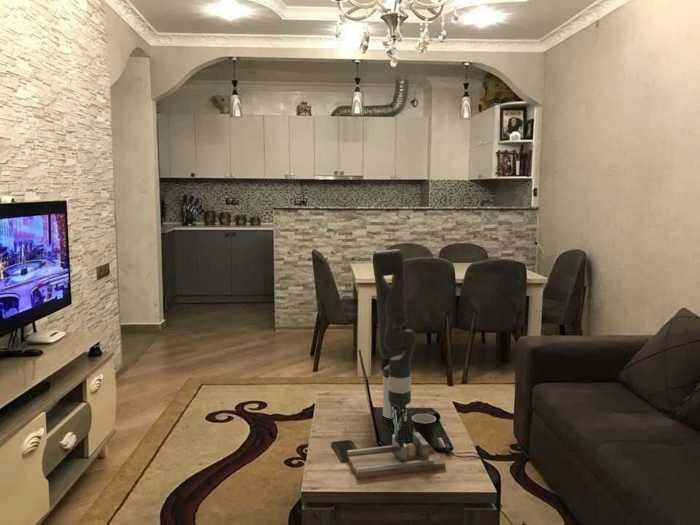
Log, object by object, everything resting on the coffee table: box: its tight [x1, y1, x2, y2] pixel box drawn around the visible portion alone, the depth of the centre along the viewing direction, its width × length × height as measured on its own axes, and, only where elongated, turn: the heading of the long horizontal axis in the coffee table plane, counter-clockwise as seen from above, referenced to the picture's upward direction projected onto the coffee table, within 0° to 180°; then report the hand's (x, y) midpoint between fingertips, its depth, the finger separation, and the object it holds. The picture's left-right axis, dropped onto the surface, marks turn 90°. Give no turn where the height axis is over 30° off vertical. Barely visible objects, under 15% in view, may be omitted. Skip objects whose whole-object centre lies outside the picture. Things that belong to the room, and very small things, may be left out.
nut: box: [406, 442, 417, 459], centre depth 202 cm, size 4×4×4 cm
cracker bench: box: [347, 432, 446, 480], centre depth 201 cm, size 15×30×8 cm, turn 103°
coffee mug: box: [411, 413, 437, 445], centre depth 217 cm, size 12×9×10 cm
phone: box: [330, 439, 358, 463], centre depth 211 cm, size 8×1×15 cm
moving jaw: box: [391, 419, 407, 463], centre depth 201 cm, size 10×3×13 cm, turn 13°
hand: (399, 437), depth 201 cm, fingers closed on moving jaw, 3 cm apart
